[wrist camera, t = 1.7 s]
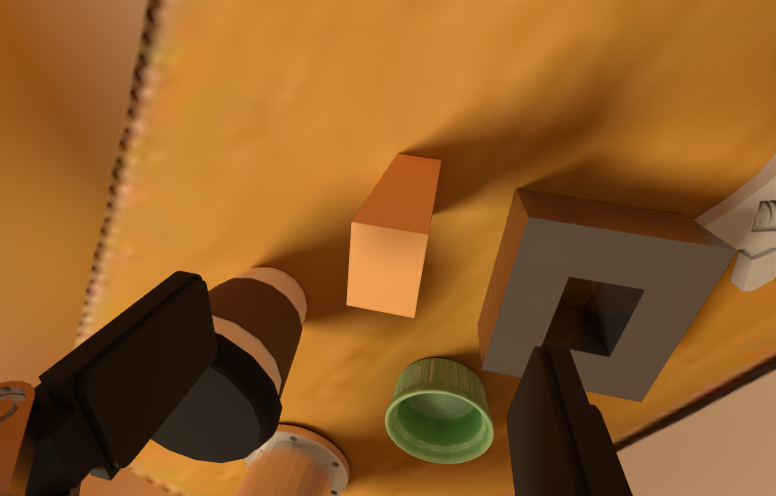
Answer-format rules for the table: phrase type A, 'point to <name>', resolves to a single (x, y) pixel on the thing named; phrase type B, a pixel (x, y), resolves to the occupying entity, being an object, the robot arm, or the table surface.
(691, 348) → the table surface
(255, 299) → the coffee cup
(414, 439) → the ramekin
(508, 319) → the grey square frame
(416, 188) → the orange square peg
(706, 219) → the adjustable wrench
